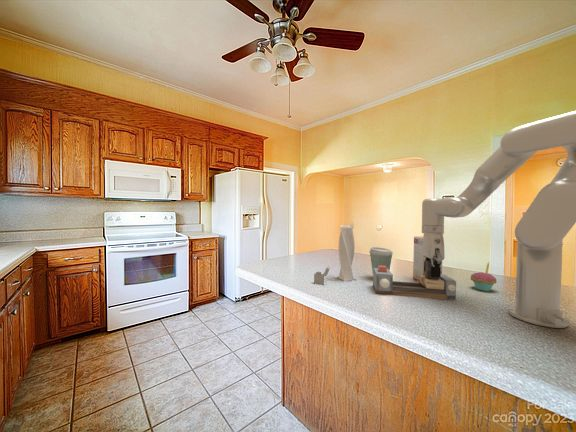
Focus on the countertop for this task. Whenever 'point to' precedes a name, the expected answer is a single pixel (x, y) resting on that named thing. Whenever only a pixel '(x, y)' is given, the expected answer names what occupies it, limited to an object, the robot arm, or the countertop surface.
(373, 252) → the disposable coffee cup
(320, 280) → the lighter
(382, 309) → the countertop surface
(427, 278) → the carriage
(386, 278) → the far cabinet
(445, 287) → the grey rectangular block
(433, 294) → the track
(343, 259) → the skyscraper
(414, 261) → the cracker box
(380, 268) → the button
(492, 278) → the cupcake
